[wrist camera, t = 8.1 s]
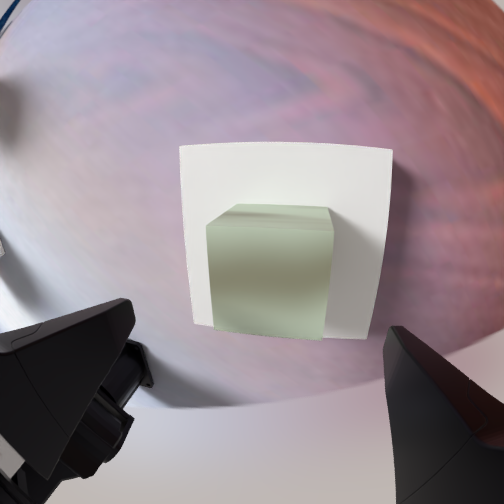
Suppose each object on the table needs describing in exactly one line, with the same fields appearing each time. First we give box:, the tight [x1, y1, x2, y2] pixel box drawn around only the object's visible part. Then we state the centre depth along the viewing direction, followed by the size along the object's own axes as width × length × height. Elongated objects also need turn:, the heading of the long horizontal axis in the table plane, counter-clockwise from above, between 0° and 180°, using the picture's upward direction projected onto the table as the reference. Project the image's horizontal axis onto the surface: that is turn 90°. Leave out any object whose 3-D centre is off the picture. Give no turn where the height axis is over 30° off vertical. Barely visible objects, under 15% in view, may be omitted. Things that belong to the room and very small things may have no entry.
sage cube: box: [206, 204, 334, 340], centre depth 14 cm, size 5×5×5 cm
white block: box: [179, 142, 393, 339], centre depth 17 cm, size 12×12×3 cm
